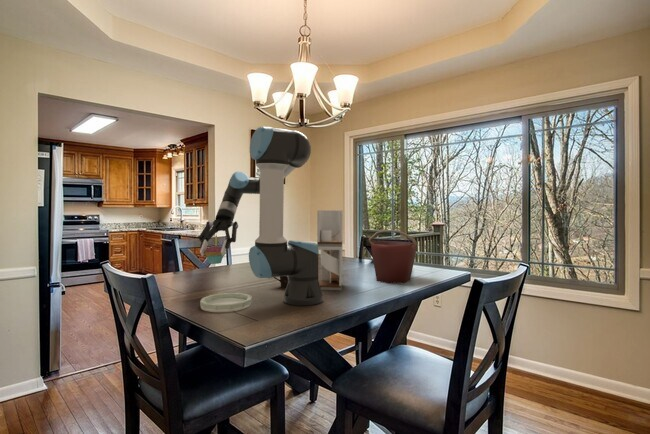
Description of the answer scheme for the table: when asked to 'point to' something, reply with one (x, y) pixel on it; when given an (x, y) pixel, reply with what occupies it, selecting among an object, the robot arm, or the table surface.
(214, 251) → the cupcake
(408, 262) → the bucket
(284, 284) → the coffee mug
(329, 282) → the display case
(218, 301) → the rimmed plate
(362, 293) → the table surface
